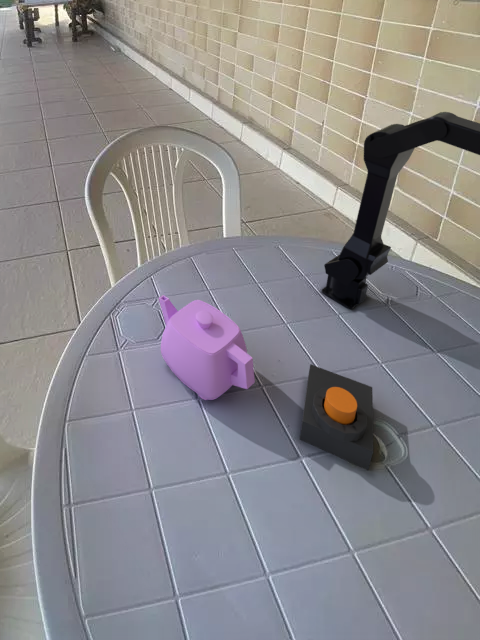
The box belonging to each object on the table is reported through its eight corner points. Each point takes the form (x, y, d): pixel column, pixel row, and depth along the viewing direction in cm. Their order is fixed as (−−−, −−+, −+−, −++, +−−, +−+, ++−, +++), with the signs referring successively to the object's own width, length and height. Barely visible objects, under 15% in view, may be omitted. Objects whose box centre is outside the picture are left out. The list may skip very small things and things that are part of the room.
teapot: (270, 387, 73) (277, 332, 68) (225, 435, 66) (229, 377, 62) (182, 319, 88) (183, 269, 84) (138, 352, 81) (137, 300, 77)
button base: (307, 381, 74) (311, 356, 71) (367, 405, 69) (374, 378, 67) (299, 442, 65) (303, 415, 62) (368, 474, 60) (375, 446, 58)
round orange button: (325, 394, 66) (327, 382, 65) (354, 405, 64) (357, 394, 63) (322, 416, 62) (325, 404, 62) (354, 429, 60) (357, 417, 60)
